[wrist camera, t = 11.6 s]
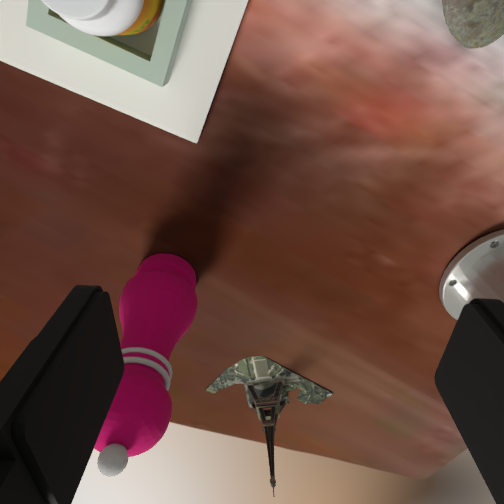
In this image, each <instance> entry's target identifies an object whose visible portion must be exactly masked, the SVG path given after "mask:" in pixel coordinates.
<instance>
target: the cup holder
mask: <svg viewBox="0 0 504 504" xmlns="http://www.w3.org/2000/svg"><path fill="white" fill-rule="evenodd" d="M247 3H248V0H165V4H164V8H163V11H162V14H161V16H160V18H159V20H158V21H157V22H156V24H155V25H154V26H153V27H152V28H150V29H149V30H147V31H145V32H143V33H140V34H135V35H118V36H96V35H91V34H87V33H85V32H82V31H80V30H78V29H76V28H75V27H73V26H71V25H70V24H69V23H67V22H66V21H65V20H64V19H63V18H61V17H60V15H59V14H57V13H55V12H54V11H53V10H51V9H50V8H49V7H47V6H46V5H45V4H44V3H43V2H42V1H41V0H0V61H2V62H5V63H7V64H9V65H12V66H14V67H16V68H19V69H21V70H24V71H26V72H28V73H31V74H33V75H35V76H38V77H40V78H43V79H45V80H47V81H50V82H52V83H54V84H57V85H59V86H61V87H64V88H66V89H69V90H71V91H73V92H76V93H78V94H80V95H83V96H85V97H87V98H90V99H92V100H95V101H97V102H99V103H102V104H104V105H106V106H109V107H111V108H113V109H116V110H118V111H121V112H123V113H125V114H128V115H130V116H132V117H135V118H137V119H139V120H142V121H144V122H147V123H149V124H151V125H154V126H156V127H158V128H161V129H163V130H165V131H168V132H170V133H173V134H175V135H177V136H180V137H182V138H184V139H187V140H189V141H191V142H194V143H196V144H197V142H198V140H199V137H200V134H201V131H202V128H203V126H204V123H205V120H206V117H207V114H208V112H209V109H210V106H211V103H212V100H213V98H214V95H215V92H216V89H217V87H218V84H219V81H220V78H221V75H222V73H223V70H224V67H225V64H226V61H227V59H228V56H229V53H230V50H231V47H232V45H233V42H234V39H235V36H236V33H237V31H238V28H239V25H240V22H241V20H242V17H243V14H244V11H245V8H246V6H247Z"/></svg>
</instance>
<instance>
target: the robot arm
mask: <svg viewBox="0 0 504 504" xmlns="http://www.w3.org/2000/svg"><path fill="white" fill-rule="evenodd" d="M439 295H440V299H441V302H442V304H443V306H444V307H445V309H446V310H447V312H448V313H449V314H450V315H451V316H452V317H453V318H455V319H456V320H457V323H456V325H455V328H454V330H453V332H452V335H451V337H450V339H449V342H448V344H447V347H446V349H445V351H444V354H443V356H442V358H441V361H440V363H439V366H438V368H437V370H436V373H435V384H436V387H437V389H438V391H439V393H440V395H441V397H442V399H443V401H444V403H445V405H446V407H447V408H448V410H449V412H450V414H451V416H452V418H453V420H454V422H455V424H456V426H457V428H458V430H459V432H460V434H461V436H462V438H463V440H464V442H465V443H466V445H467V447H468V449H469V451H470V453H471V455H472V457H473V459H474V461H475V463H476V465H477V467H478V469H479V471H480V473H481V474H482V476H483V478H484V480H485V482H486V484H487V486H488V488H489V490H490V492H491V494H492V496H493V498H494V500H495V502H496V504H504V229H502V230H499V231H496V232H493V233H490V234H488V235H486V236H483V237H481V238H479V239H478V240H476V241H474V242H473V243H471V244H470V245H468V246H467V247H466V248H464V249H463V250H462V251H461V252H460V253H458V254H457V256H456V257H455V258H454V259H453V260H452V261H451V262H450V264H449V265H448V267H447V268H446V270H445V271H444V274H443V276H442V278H441V281H440V287H439ZM123 373H124V360H123V355H122V351H121V346H120V342H119V337H118V332H117V328H116V323H115V319H114V314H113V309H112V305H111V300H110V296H109V293H108V292H103V290H102V288H101V287H100V286H89V285H77V286H75V287H74V288H73V289H72V291H71V292H70V293H69V295H68V296H67V297H66V299H65V300H64V301H63V302H62V304H61V305H60V306H59V308H58V309H57V310H56V312H55V313H54V314H53V316H52V317H51V318H50V320H49V321H48V322H47V324H46V325H45V326H44V328H43V329H42V330H41V332H40V333H39V334H38V336H37V337H35V338H34V339H33V340H32V341H31V342H30V343H29V345H28V346H27V347H26V349H25V350H24V351H23V353H22V354H21V355H20V357H19V358H18V359H17V361H16V362H15V363H14V365H13V366H12V367H11V368H10V370H9V371H8V372H7V374H6V375H5V376H4V378H3V379H2V380H1V382H0V504H71V503H72V500H73V498H74V495H75V493H76V490H77V488H78V485H79V483H80V480H81V478H82V476H83V473H84V471H85V468H86V466H87V463H88V460H89V458H90V456H91V453H92V451H93V448H94V446H95V444H96V441H97V439H98V436H99V434H100V431H101V429H102V426H103V424H104V421H105V419H106V416H107V414H108V411H109V409H110V407H111V404H112V402H113V399H114V397H115V394H116V392H117V389H118V387H119V384H120V382H121V379H122V377H123Z"/></svg>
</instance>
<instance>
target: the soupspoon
mask: <svg viewBox="0 0 504 504" xmlns="http://www.w3.org/2000/svg"><path fill="white" fill-rule="evenodd" d="M442 3H443V11H444V16H445V20H446V24H447V25H448V27H449V30H450V32H451V34H452V35H453V36H454V37H455V38H456V39H457V40H458V41H459V42H460V43H461V44H462V45H463V46H464V47H467V48H479V47H484V46H487V45H489V44H491V43H492V42H494V41H495V40H497V39H498V38H500V37H501V36H502V35H503V34H504V0H442Z"/></svg>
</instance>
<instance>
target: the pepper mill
mask: <svg viewBox="0 0 504 504" xmlns="http://www.w3.org/2000/svg"><path fill="white" fill-rule="evenodd" d="M195 287H196V274H195V271H194V269H193V268H192V266H191V265H190V264H189V263H188V262H187V261H186V260H184V259H183V258H181V257H179V256H176V255H173V254H167V253H160V254H155V255H152V256H149V257H148V258H146V259H145V260H144V261H143V262H142V263H141V264H140V265H139V268H138V270H137V272H136V274H135V276H134V277H133V278H131V279H130V280H129V281H128V282H127V284H126V285H125V287H124V289H123V292H122V295H121V298H120V303H119V315H120V320H121V324H122V330H123V332H122V340H121V344H120V346H121V351H122V355H123V360H124V373H123V377H122V379H121V382H120V384H119V387H118V389H117V392H116V394H115V397H114V399H113V402H112V404H111V407H110V409H109V411H108V414H107V416H106V419H105V421H104V424H103V426H102V429H101V431H100V434H99V436H98V439H97V441H96V444H95V446H94V448H95V449H96V450H98V451H99V452H101V453H100V455H99V457H98V468H99V470H100V472H101V473H102V474H103V475H106V476H115V475H117V474H119V473H121V472H122V471H123V469H124V468H125V467H126V465H127V462H128V457H130V456H135V455H139V454H141V453H143V452H145V451H147V450H149V449H151V448H152V447H153V446H154V445H155V444H156V443H157V442H158V441H159V440H160V439H161V438H162V436H163V435H164V433H165V431H166V429H167V427H168V424H169V421H170V418H171V411H172V402H171V397H170V395H169V393H168V389H169V387H170V379H171V377H172V368H171V365H170V363H169V358H170V355H171V352H172V350H173V348H174V346H175V344H176V343H177V342H178V341H179V339H180V338H181V337H182V336H183V335H184V334H185V333H186V331H187V330H188V329H189V327H190V325H191V323H192V321H193V320H194V316H195V313H196V310H197V297H196V294H195Z"/></svg>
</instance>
